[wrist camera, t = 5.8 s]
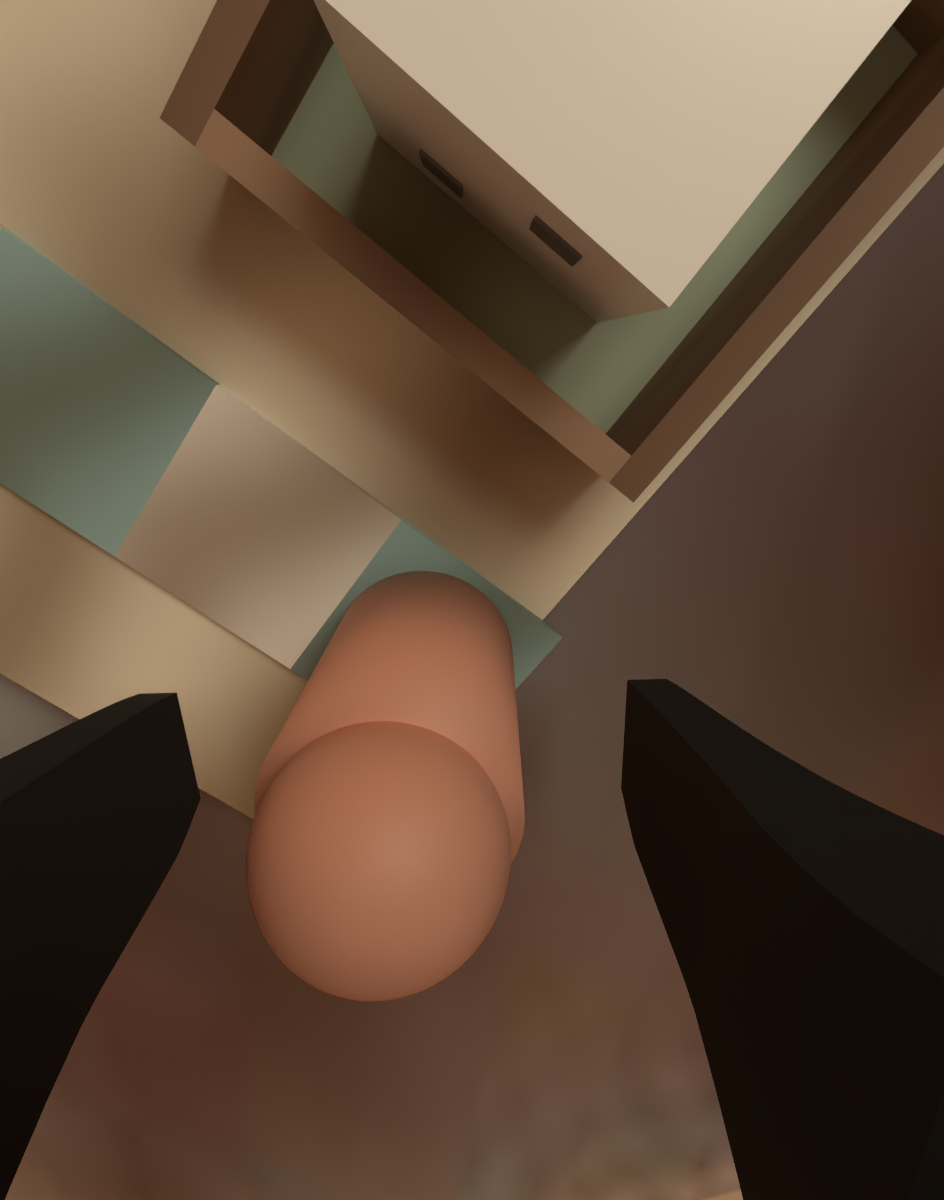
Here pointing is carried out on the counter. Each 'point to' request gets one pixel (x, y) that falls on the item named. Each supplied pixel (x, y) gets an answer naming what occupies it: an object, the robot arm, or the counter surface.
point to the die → (603, 119)
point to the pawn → (392, 794)
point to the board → (336, 356)
